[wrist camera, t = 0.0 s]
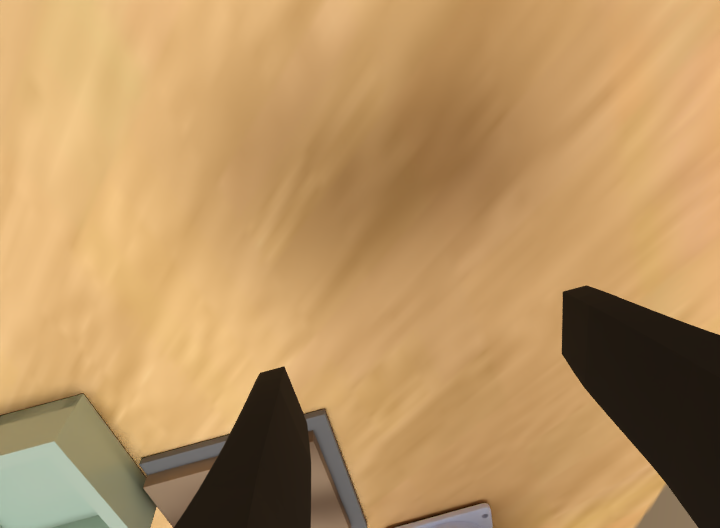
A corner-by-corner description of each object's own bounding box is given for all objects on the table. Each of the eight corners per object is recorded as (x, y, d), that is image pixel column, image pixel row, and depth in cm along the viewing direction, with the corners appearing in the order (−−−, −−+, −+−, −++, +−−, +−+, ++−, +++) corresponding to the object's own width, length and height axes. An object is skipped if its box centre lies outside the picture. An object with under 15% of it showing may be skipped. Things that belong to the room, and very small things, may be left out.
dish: (159, 496, 26) (144, 546, 23) (17, 535, 26) (-15, 590, 23) (83, 393, 22) (54, 441, 19) (-89, 439, 22) (-142, 494, 19)
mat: (366, 523, 30) (367, 529, 30) (218, 564, 30) (217, 570, 30) (324, 408, 25) (324, 414, 24) (141, 458, 24) (139, 464, 24)
